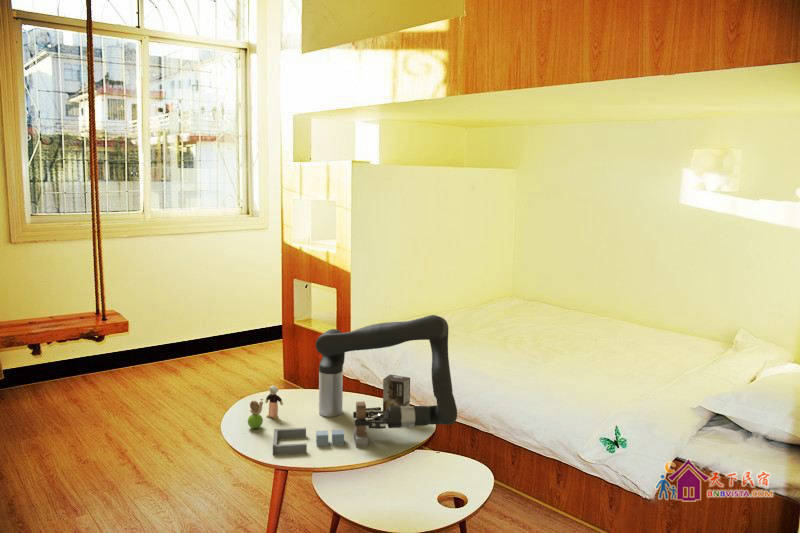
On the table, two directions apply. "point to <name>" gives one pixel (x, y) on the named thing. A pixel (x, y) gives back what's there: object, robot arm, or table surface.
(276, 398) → the grandmother figurine
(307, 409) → the table surface
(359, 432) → the tall wooden pillar
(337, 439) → the block
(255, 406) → the snail figurine
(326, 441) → the block
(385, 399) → the coffee box
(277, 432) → the grey u-shaped wall
